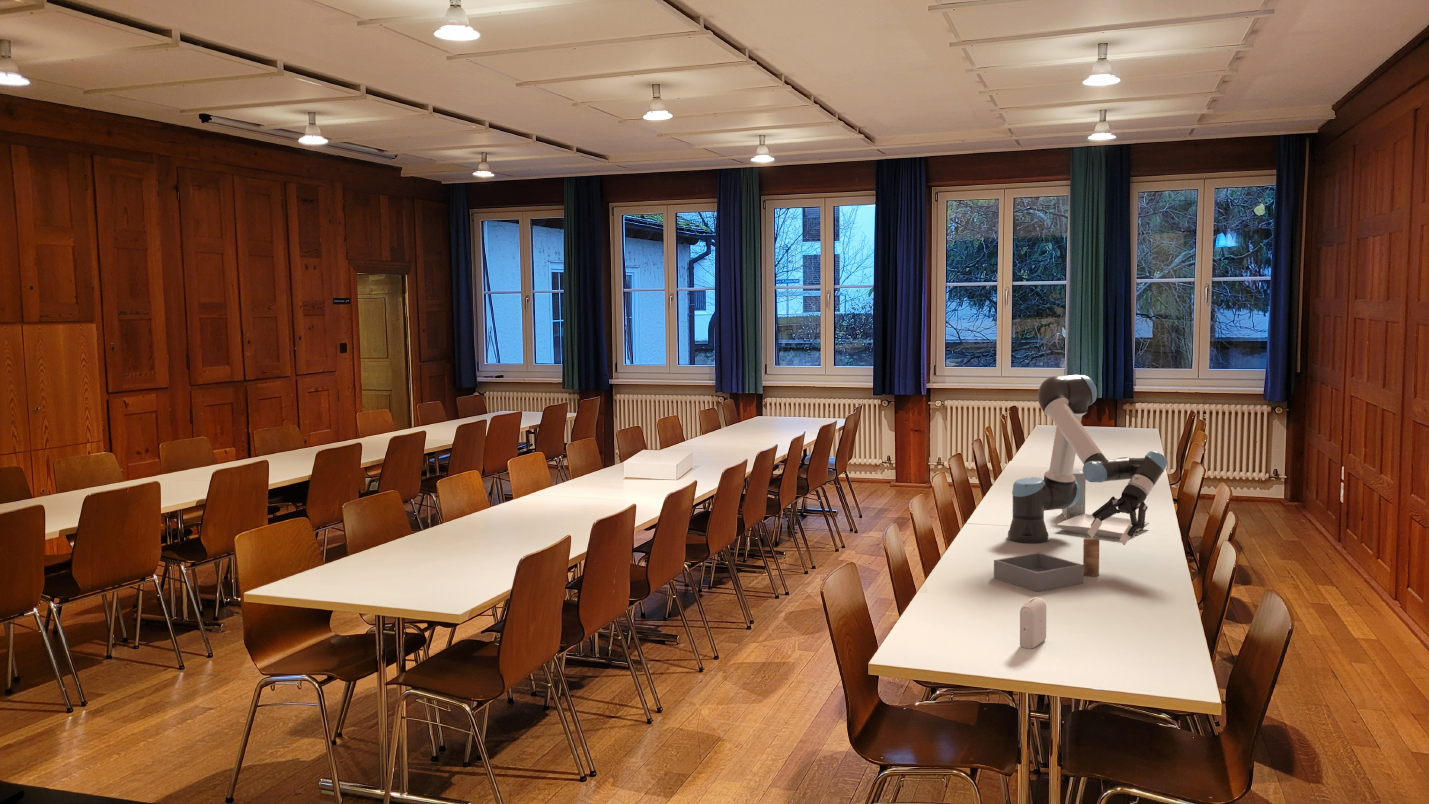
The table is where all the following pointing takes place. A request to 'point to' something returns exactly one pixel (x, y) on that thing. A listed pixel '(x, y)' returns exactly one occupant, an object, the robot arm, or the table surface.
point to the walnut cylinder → (1091, 557)
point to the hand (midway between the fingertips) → (1105, 538)
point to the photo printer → (1032, 623)
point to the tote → (1038, 571)
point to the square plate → (1108, 528)
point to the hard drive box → (1080, 504)
